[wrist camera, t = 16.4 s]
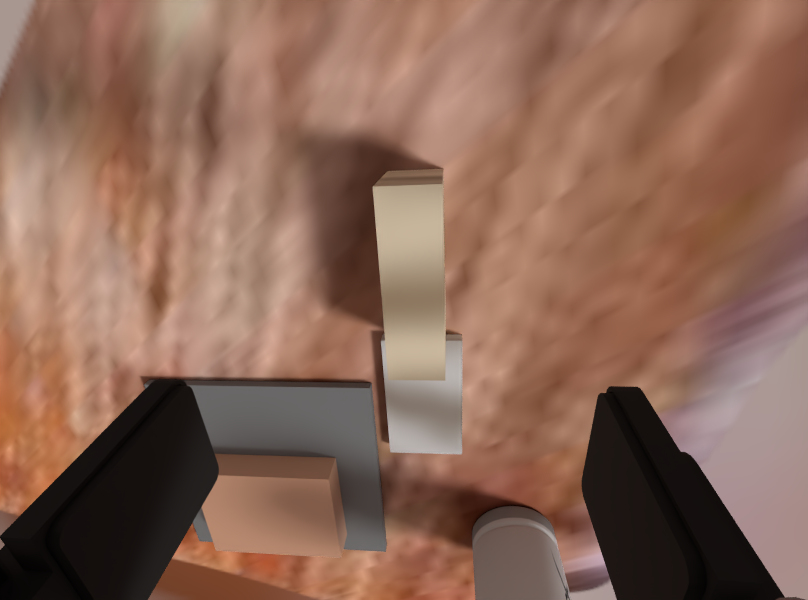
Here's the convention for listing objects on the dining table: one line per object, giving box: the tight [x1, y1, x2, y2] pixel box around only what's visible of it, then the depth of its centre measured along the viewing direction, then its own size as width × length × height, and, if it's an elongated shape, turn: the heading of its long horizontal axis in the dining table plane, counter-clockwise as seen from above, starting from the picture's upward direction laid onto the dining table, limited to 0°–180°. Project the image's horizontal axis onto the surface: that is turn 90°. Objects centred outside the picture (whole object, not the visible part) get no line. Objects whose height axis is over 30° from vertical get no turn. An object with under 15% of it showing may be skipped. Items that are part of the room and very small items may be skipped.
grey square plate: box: [144, 380, 387, 552], centre depth 33 cm, size 16×16×1 cm
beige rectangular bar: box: [373, 169, 462, 454], centre depth 24 cm, size 19×5×5 cm, turn 3°
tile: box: [202, 454, 347, 558], centre depth 32 cm, size 2×10×8 cm
